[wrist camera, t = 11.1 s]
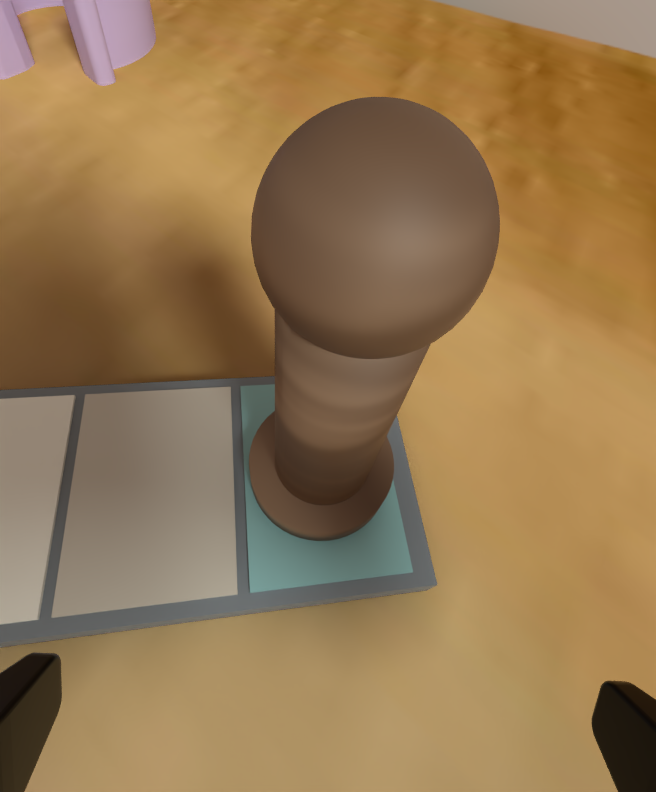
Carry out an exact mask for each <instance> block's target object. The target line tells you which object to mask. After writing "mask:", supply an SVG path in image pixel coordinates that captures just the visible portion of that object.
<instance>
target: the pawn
mask: <svg viewBox="0 0 656 792" xmlns="http://www.w3.org/2000/svg"><path fill="white" fill-rule="evenodd" d="M499 231H500V218H499V205H498V200H497V195H496V191H495V187H494V183H493V180H492V177H491V175H490V172H489V170H488V168H487V166H486V164H485V161H484V159H483V158H482V156H481V154H480V153H479V151H478V150H477V149H476V147H475V146H474V144H473V143H472V142H471V140H470V139H469V138H468V137H467V136H466V135H465V134H464V133H463V132H462V131H461V130H460V129H459V128H458V127H457V126H456V125H455V124H454V123H452V122H451V121H450V120H449V119H447V118H446V117H444V116H443V115H441V114H440V113H438V112H436V111H434V110H432V109H430V108H428V107H425V106H423V105H420V104H418V103H415V102H412V101H408V100H404V99H398V98H389V97H367V98H360V99H355V100H351V101H347V102H344V103H341V104H338V105H335V106H332V107H330V108H328V109H326V110H324V111H322V112H321V113H319V114H317V115H315V116H314V117H312V118H311V119H309V120H308V121H306V122H305V123H304V124H302V125H301V126H300V127H299V128H298V129H297V130H296V131H294V132H293V133H292V134H291V135H290V136H289V137H288V138H287V139H286V141H285V142H284V143H283V144H282V146H281V147H280V148H279V149H278V151H277V152H276V154H275V155H274V156H273V158H272V160H271V162H270V163H269V165H268V167H267V169H266V171H265V173H264V175H263V177H262V180H261V182H260V185H259V188H258V190H257V194H256V198H255V202H254V207H253V213H252V227H251V243H252V251H253V257H254V263H255V267H256V270H257V273H258V276H259V279H260V282H261V285H262V287H263V289H264V291H265V293H266V295H267V296H268V298H269V300H270V302H271V304H272V306H273V307H274V308H275V411H274V412H273V413H271V414H270V415H269V416H268V417H267V418H266V419H265V420H264V422H263V423H262V424H261V426H260V427H259V429H258V430H257V432H256V434H255V436H254V438H253V441H252V444H251V448H250V454H249V470H250V478H251V486H252V490H253V494H254V496H255V499H256V501H257V503H258V505H259V507H260V508H261V510H262V511H263V513H264V514H265V515H266V516H267V518H268V519H269V520H270V521H271V522H272V523H274V524H275V525H276V526H277V527H279V528H280V529H281V530H283V531H285V532H287V533H289V534H291V535H293V536H296V537H298V538H302V539H306V540H313V541H330V540H335V539H340V538H343V537H346V536H348V535H350V534H352V533H354V532H356V531H358V530H359V529H361V528H362V527H363V526H365V525H366V524H367V523H368V522H369V521H370V520H371V519H372V518H373V516H374V515H375V514H376V513H377V511H378V509H379V508H380V506H381V505H382V503H383V502H384V500H385V498H386V497H387V495H388V493H389V490H390V488H391V484H392V481H393V475H394V458H393V452H392V449H391V445H390V443H389V440H388V438H387V434H388V432H389V430H390V428H391V426H392V424H393V422H394V420H395V417H396V415H397V413H398V411H399V409H400V407H401V405H402V403H403V401H404V399H405V397H406V394H407V392H408V390H409V388H410V386H411V384H412V382H413V380H414V378H415V376H416V374H417V371H418V369H419V367H420V365H421V363H422V361H423V359H424V357H425V355H426V353H427V350H428V348H429V346H430V344H431V343H433V342H435V341H436V340H437V339H439V338H440V337H442V336H443V335H444V334H446V333H447V332H448V331H450V330H451V329H453V327H454V326H455V325H456V324H457V323H458V322H459V321H460V320H461V319H462V318H463V317H464V316H465V315H466V314H467V313H468V312H469V311H470V309H471V308H472V306H473V305H474V303H475V302H476V300H477V299H478V297H479V296H480V294H481V293H482V291H483V289H484V287H485V285H486V282H487V280H488V278H489V275H490V273H491V271H492V269H493V265H494V261H495V257H496V253H497V248H498V242H499Z"/></svg>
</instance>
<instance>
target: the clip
mask: <svg viewBox="0 0 656 792" xmlns="http://www.w3.org/2000/svg"><path fill="white" fill-rule="evenodd" d="M52 6H64V8H65V11H66V15H67V18H68V21H69V24H70V28H71V31H72V34H73V38H74V41H75V44H76V47H77V51H78V54H79V57H80V61H81V64H82V67H83V70H84V73H85V74H86V75H87V76H88V77H89V78H90V79H92V80H93V81H94V82H95V83H96V84H98V85H102V86H105V85H110V84H113V83H115V81H116V79H115V75H114V72H113V69H116V68H120V67H123V66H126V65H128V64H131V63H133V62H135V61H137V60H139V59H140V58H142V57H143V56H145V55H146V54H147V53H148V52H149V51H150V50H151V49H152V47H153V46H154V44H155V40H156V34H155V28H154V22H153V17H152V11H151V5H150V0H0V79H7V78H10V77H12V76H15V75H17V74H19V73H22V72H24V71H26V70H28V69H29V68H30V67H32V66H33V65H34V64H35V62H34V59H33V57H32V54H31V51H30V49H29V46H28V44H27V41H26V38H25V36H24V33H23V30H22V28H21V25H20V22H19V20H18V17H17V15H18V14H21V13H23V12H26V11H30V10H34V9H38V8H44V7H52Z"/></svg>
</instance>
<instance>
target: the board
mask: <svg viewBox="0 0 656 792" xmlns="http://www.w3.org/2000/svg"><path fill="white" fill-rule="evenodd" d="M274 411H275V376H270V377H250V378H230V379H210V380H190V381H171V382H151V383H131V384H111V385H91V386H72V387H52V388H32V389H12V390H0V647H7V646H15V645H22V644H30V643H37V642H45V641H52V640H60V639H67V638H74V637H82V636H89V635H97V634H104V633H112V632H119V631H127V630H134V629H142V628H149V627H157V626H164V625H172V624H179V623H186V622H194V621H201V620H209V619H216V618H224V617H231V616H239V615H246V614H254V613H261V612H269V611H276V610H283V609H291V608H298V607H306V606H313V605H321V604H328V603H336V602H343V601H351V600H358V599H366V598H373V597H380V596H388V595H395V594H403V593H410V592H418V591H425V590H429V589H430V588H432V587H434V586H436V585H437V582H436V577H435V573H434V569H433V565H432V561H431V556H430V552H429V548H428V544H427V540H426V535H425V531H424V527H423V523H422V519H421V515H420V510H419V506H418V502H417V498H416V494H415V489H414V485H413V481H412V477H411V473H410V468H409V464H408V460H407V456H406V452H405V448H404V443H403V439H402V435H401V431H400V427H399V422H398V418H397V415H396V417H395V420H394V422H393V424H392V426H391V428H390V430H389V432H388V434H387V438H388V440H389V443H390V445H391V449H392V452H393V458H394V475H393V481H392V484H391V488H390V490H389V493H388V495H387V497H386V498H385V500H384V502H383V503H382V505H381V506H380V508H379V509H378V511H377V513H376V514H375V515H374V516H373V518H372V519H371V520H370V521H369V522H368V523H367V524H366V525H365V526H363V527H362V528H361V529H359V530H358V531H356V532H354V533H352V534H350V535H348V536H346V537H343V538H340V539H335V540H330V541H313V540H306V539H302V538H298V537H296V536H293V535H291V534H289V533H287V532H285V531H283V530H281V529H280V528H279V527H277V526H276V525H275V524H274V523H272V522H271V521H270V520H269V519H268V518H267V516H266V515H265V514H264V513H263V511H262V510H261V508H260V507H259V505H258V503H257V501H256V499H255V496H254V494H253V490H252V486H251V478H250V470H249V454H250V448H251V444H252V441H253V438H254V436H255V434H256V432H257V430H258V429H259V427H260V426H261V424H262V423H263V422H264V420H265V419H266V418H267V417H268V416H269V415H270V414H271V413H273V412H274Z"/></svg>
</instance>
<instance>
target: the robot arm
mask: <svg viewBox="0 0 656 792" xmlns="http://www.w3.org/2000/svg"><path fill="white" fill-rule="evenodd" d="M61 698H62V686H61V660H60V657H59V656H58V655H57V654H54V653H31V654H29V655H27V656H25V657H24V658H22V659H21V660H19V661H18V662H16V663H15V664H13V665H12V666H10V667H9V668H7V669H6V670H4V671H3V672H1V673H0V792H24V791H25V789H26V787H27V784H28V782H29V780H30V777H31V775H32V773H33V770H34V768H35V766H36V763H37V761H38V759H39V756H40V754H41V752H42V749H43V747H44V745H45V742H46V740H47V738H48V735H49V733H50V731H51V728H52V726H53V724H54V721H55V719H56V717H57V714H58V711H59V708H60V704H61ZM592 729H593V733H594V736H595V739H596V741H597V744H598V746H599V748H600V751H601V753H602V755H603V758H604V760H605V762H606V765H607V767H608V769H609V772H610V774H611V776H612V779H613V781H614V783H615V786H616V788H617V790H618V792H656V700H655V699H654V698H653V697H651V696H650V695H648V694H647V693H645V692H644V691H642V690H641V689H639V688H638V687H636V686H635V685H633V684H632V683H629V682H625V681H605V682H604V683H603V684H602V685H601V688H600V691H599V695H598V698H597V702H596V705H595V709H594V712H593V716H592Z"/></svg>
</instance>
